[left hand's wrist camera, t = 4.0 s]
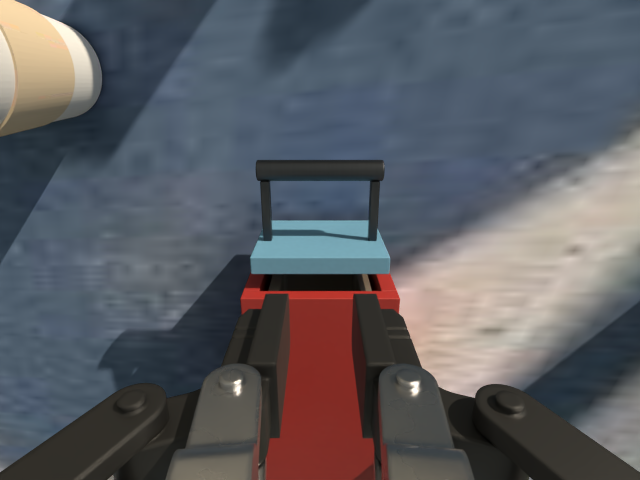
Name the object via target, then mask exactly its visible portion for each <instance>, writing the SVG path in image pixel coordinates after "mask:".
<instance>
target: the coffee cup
mask: <svg viewBox="0 0 640 480" xmlns="http://www.w3.org/2000/svg"><path fill="white" fill-rule="evenodd" d="M101 87H102V71H101V66H100V63H99V60H98V57H97V55H96V53H95V51H94V49H93V48H92V46H91V45H90V44H89V42H88V41H87V40H86V39H85V38H84V37H83V36H82V35H81V34H80V33H79V32H78V31H76V30H75V29H73V28H72V27H70V26H68V25H66V24H64V23H61V22H59V21H56V20H54V19H51V18H49V17H47V16H44V15H42V14H39V13H38V12H36V11H35V10H33V9H32V8H30V7H28V6H26V5H23V4H21V3H19V2H16V1H14V0H0V137H1V136H5V135H9V134H13V133H17V132H21V131H25V130H29V129H33V128H37V127H41V126H44V125H47V124H49V123H51V122H55V121H59V120H63V119H68V118H72V117H76V116H79V115H81V114H83V113H85V112H87V111H88V110H89V109H90V108H91V107H92V106H93V105H94V104H95V102H96V101H97V99H98V97H99V94H100V91H101Z"/></svg>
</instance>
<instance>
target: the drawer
mask: <svg viewBox="0 0 640 480" xmlns="http://www.w3.org/2000/svg"><path fill="white" fill-rule="evenodd" d="M256 177H257V180H258V181H261V182H260V186H261V205H262V223H263V229H262V232H261V234H260V236H259V238H258V241H257V243H256V245H255V248H254V250H253V252H252V255H251V257H250V265H251V274H273V276H272V279H271V283H270V287H269V291H372V290H371V286H370V282H369V279H368V275H367V274H389V268H390V256H389V254H388V252H387V249H386V247H385V245H384V243H383V240H382V238H381V236H380V233H379V231H378V229H377V226H378V208H379V190H380V181H382V180H383V178H384V161H383V160H257V162H256ZM270 181H370V196H369V219H368V221H272V214H271V192H270Z"/></svg>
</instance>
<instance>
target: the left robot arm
mask: <svg viewBox="0 0 640 480" xmlns="http://www.w3.org/2000/svg"><path fill="white" fill-rule="evenodd" d="M289 355H290V314H289V295H288V294H265V297H264V301H263V304H262V308H261V309H248V310H247V311H246V312H245V313H244V314H242V315H241V316H240V317H239V319H238V322H237V324H236V327H235V330H234V332H233V335H232V339H231V341H230V343H229V346H228V349H227V352H226V354H225V357H224V360H223V363H222V365H221V367H219V368H217V369H215V370H214V371H212V372H211V373H210V374H209V375H208V376H207V377H206V378H205V380H204V381H203V384H202V387H201V389H199V390H196V391H194V392H190V393H187V394H183V395H178V396H174V397H170V398H166V393H165V391H164V390H163V389H162V387H160V386H158V385H156V384H151V383H140V384H134V385H131V386H128V387H125V388H123V389H121V390H119V391H117V392H115V393H114V394H112V395H111V396H109V397H108V398H106V399H105V400H104V401H102V402H101V403H99V404H98V405H96V406H95V407H93V408H92V409H91V410H89V411H88V412H86V413H85V414H83V415H82V416H81V417H79V418H78V419H76V420H75V421H73V422H72V423H71V424H69V425H68V426H66V427H65V428H63V429H62V430H60V431H59V432H58V433H56V434H55V435H53V436H52V437H50V438H49V439H48V440H46V441H45V442H43V443H42V444H40V445H39V446H37V447H36V448H35V449H33V450H32V451H30V452H29V453H27V454H26V455H25V456H23V457H22V458H20V459H19V460H17V461H16V462H14V463H13V464H12V465H10V466H9V467H7V468H6V469H4V470H3V471H2V472H0V480H107V479H108V478H109V477H111V476H112V475H114V480H266V469H267V462H266V456H267V453H268V448H269V441H270V438H280V432H281V423H282V415H283V406H284V398H285V389H286V381H287V372H288V364H289ZM352 357H353V365H354V373H355V381H356V389H357V397H358V405H359V413H360V421H361V429H362V437H363V438H373V443H374V462H373V469H374V480H529V477H531V478H532V479H533V480H640V472H638V471H637V470H636V469H634V468H633V467H631V466H630V465H628V464H627V463H626V462H624V461H623V460H621V459H620V458H618V457H617V456H615V455H614V454H613V453H611V452H610V451H608V450H607V449H605V448H604V447H603V446H601V445H600V444H598V443H597V442H595V441H594V440H592V439H591V438H590V437H588V436H587V435H585V434H584V433H582V432H581V431H580V430H578V429H577V428H575V427H574V426H572V425H571V424H570V423H568V422H567V421H565V420H564V419H562V418H561V417H559V416H558V415H557V414H555V413H554V412H552V411H551V410H549V409H548V408H547V407H545V406H544V405H542V404H541V403H539V402H538V401H536V400H535V399H534V398H532V397H531V396H529V395H528V394H526V393H525V392H523V391H521V390H519V389H516V388H514V387H511V386H507V385H502V384H490V385H486V386H483V387H481V388H480V389H479V390H478V391H477V393H476V396H475V398H472V397H468V396H464V395H459V394H455V393H452V392H449V391H446V390H444V389H442V388H440V387H438V384H437V381H436V380H435V378H434V377H433V376H432V375H431V374H430V373H429V372H428V371H426V370H425V369H423V368H422V367H421V364H420V361H419V359H418V356H417V353H416V351H415V348H414V345H413V343H412V340H411V339H410V335H409V332H408V330H407V327H406V324H405V321H404V319H403V317H402V316H401V315H400V314H398V313H397V312H396V311H395V310H394V309H381V308H380V304H379V301H378V297H377V294H353V310H352Z"/></svg>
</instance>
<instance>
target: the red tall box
mask: <svg viewBox="0 0 640 480" xmlns="http://www.w3.org/2000/svg"><path fill="white" fill-rule="evenodd" d="M367 275H368V279H369V282H370V286H371V290H372V291H269V287H270V283H271V279H272V276H273V274H251V273H250V275H249V278H248V281H247V283H246V286H245V288H244V291H243V294H242V296H241V299H240V301H241V313H242V314H244V313H245V312H246V311H247V310H248V309H261V308H262V304H263V301H264V297H265V294H288V295H289V314H290V355H289V364H288V372H287V381H286V389H285V398H284V406H283V415H282V423H281V432H280V438H270V441H269V448H268V453H267V456H266V462H267V469H266V480H374V469H373V462H374V443H373V438H363V437H362V429H361V421H360V413H359V405H358V397H357V389H356V381H355V373H354V365H353V357H352V310H353V294H377V297H378V301H379V304H380V308H381V309H394V310H395V311H396V312H397V313H398V314H399V304H400V298H399V295H398V293H397V290H396V288H395V285H394V283H393V280H392V278H391V275H390V273H389V274H367Z"/></svg>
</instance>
